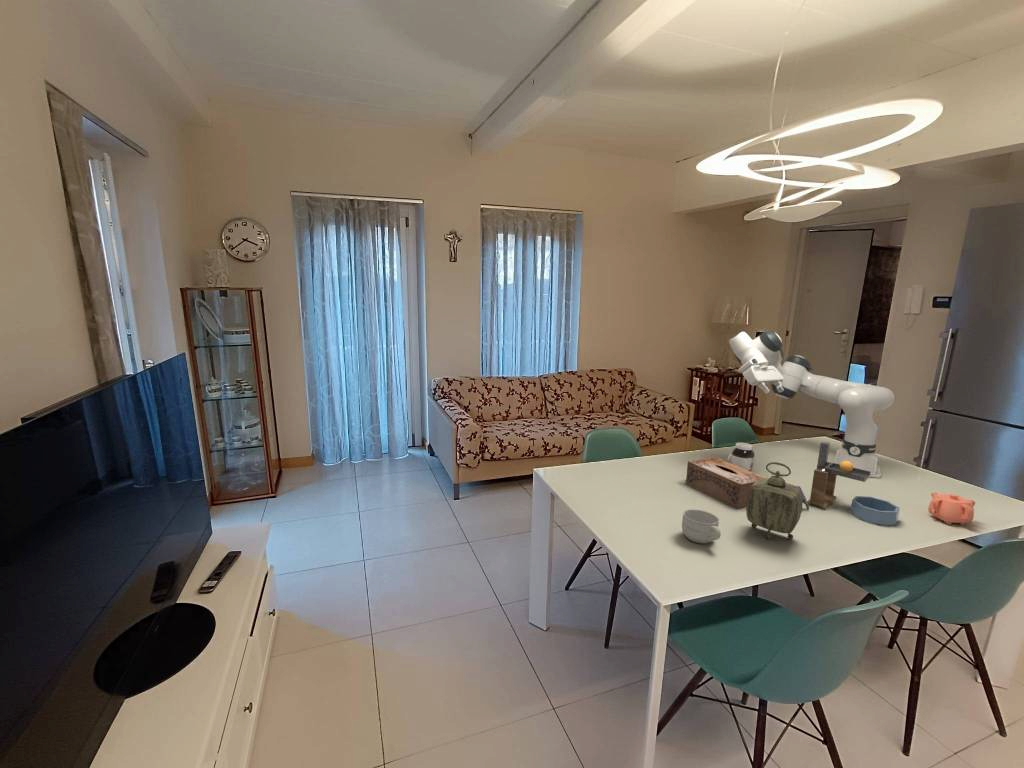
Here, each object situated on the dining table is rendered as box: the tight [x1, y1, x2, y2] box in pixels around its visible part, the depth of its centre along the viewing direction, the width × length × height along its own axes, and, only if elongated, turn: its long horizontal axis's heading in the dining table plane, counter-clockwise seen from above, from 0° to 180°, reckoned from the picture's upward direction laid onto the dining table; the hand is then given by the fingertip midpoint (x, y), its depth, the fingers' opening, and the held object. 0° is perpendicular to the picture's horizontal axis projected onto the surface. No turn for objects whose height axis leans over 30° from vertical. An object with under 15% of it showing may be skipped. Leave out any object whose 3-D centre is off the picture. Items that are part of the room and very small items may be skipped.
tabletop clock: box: [745, 461, 804, 540], centre depth 147 cm, size 14×9×25 cm, turn 48°
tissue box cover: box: [685, 456, 767, 510], centre depth 182 cm, size 26×14×10 cm, turn 24°
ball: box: [840, 461, 853, 472], centre depth 168 cm, size 4×4×4 cm
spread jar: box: [727, 442, 755, 472], centre depth 209 cm, size 12×11×12 cm
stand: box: [807, 461, 838, 511], centre depth 174 cm, size 15×6×14 cm, turn 132°
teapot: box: [927, 492, 976, 526], centre depth 161 cm, size 12×12×10 cm
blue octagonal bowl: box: [850, 495, 901, 527], centre depth 163 cm, size 13×13×5 cm
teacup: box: [681, 508, 722, 544], centre depth 145 cm, size 14×11×8 cm
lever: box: [816, 441, 871, 483], centre depth 169 cm, size 10×15×11 cm, turn 42°
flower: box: [796, 485, 810, 511], centre depth 170 cm, size 9×9×10 cm
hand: (775, 392), depth 188 cm, fingers open, 8 cm apart
